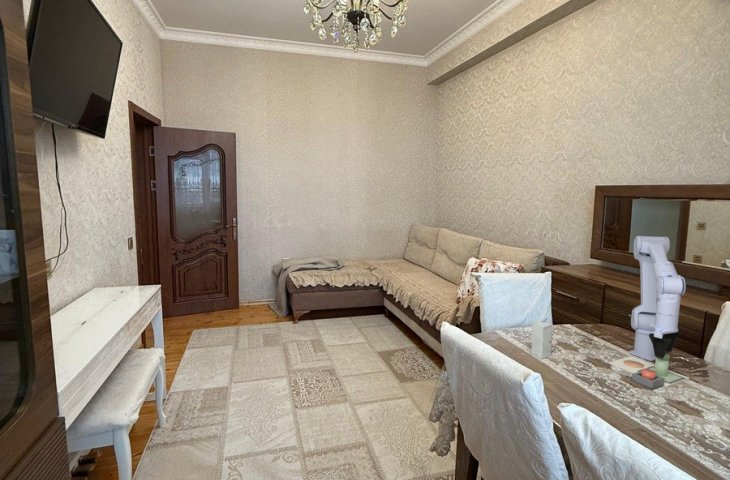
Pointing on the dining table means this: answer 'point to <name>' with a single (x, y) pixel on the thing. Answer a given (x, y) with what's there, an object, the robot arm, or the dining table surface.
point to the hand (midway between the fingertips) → (663, 354)
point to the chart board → (637, 365)
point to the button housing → (648, 381)
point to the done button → (648, 374)
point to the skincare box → (541, 339)
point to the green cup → (662, 365)
